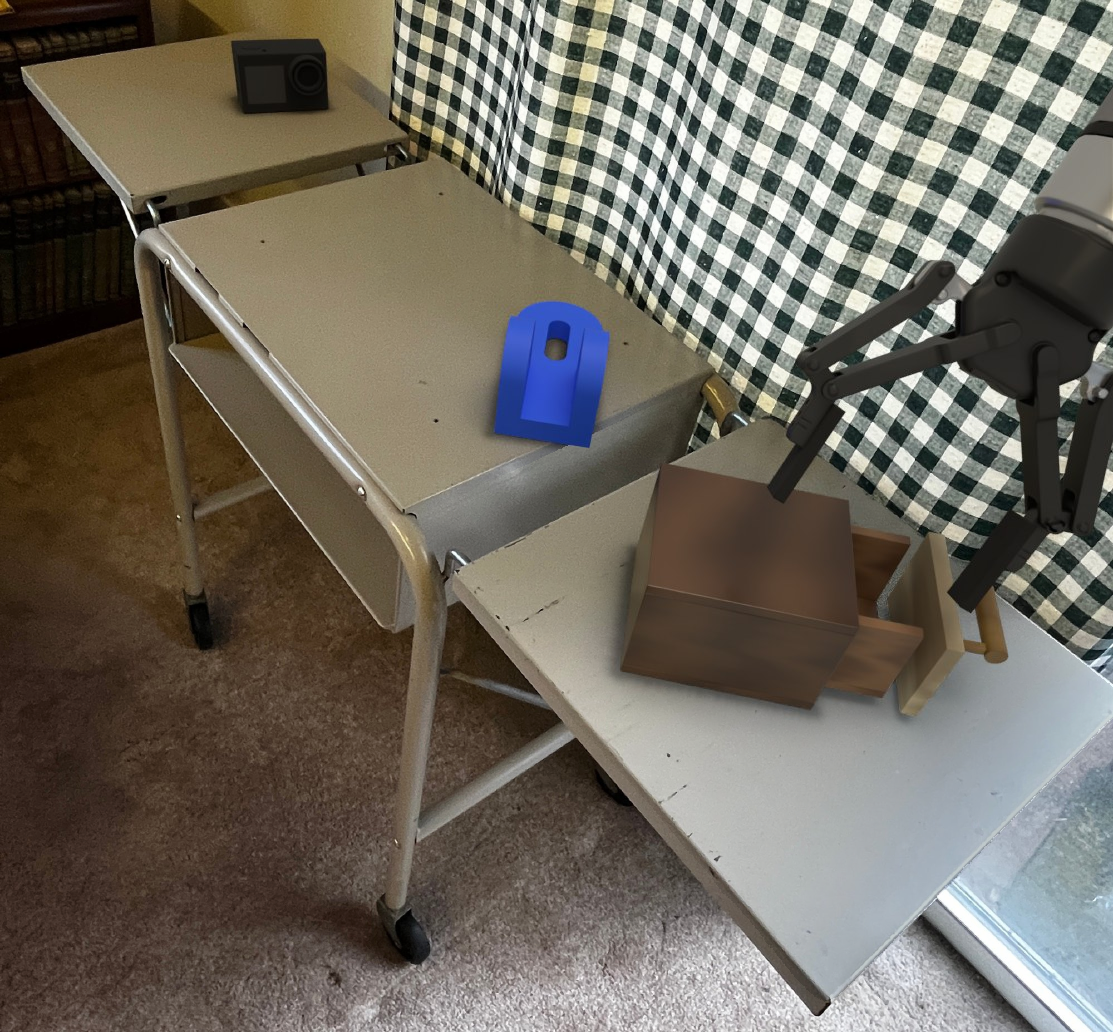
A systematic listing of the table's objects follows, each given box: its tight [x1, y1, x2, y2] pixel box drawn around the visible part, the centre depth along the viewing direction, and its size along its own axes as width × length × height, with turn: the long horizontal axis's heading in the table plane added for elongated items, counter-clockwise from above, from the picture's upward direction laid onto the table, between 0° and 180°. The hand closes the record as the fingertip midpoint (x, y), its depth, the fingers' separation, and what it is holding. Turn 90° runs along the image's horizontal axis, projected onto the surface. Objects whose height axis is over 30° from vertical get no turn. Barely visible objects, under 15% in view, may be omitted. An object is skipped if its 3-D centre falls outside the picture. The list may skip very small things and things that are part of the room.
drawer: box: [824, 524, 1009, 717], centre depth 67 cm, size 17×10×8 cm, turn 81°
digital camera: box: [230, 38, 330, 114], centre depth 115 cm, size 10×5×7 cm, turn 113°
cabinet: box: [620, 462, 859, 711], centre depth 67 cm, size 14×12×10 cm
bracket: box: [493, 300, 611, 449], centre depth 85 cm, size 18×8×9 cm, turn 175°
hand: (867, 550), depth 59 cm, fingers open, 13 cm apart
